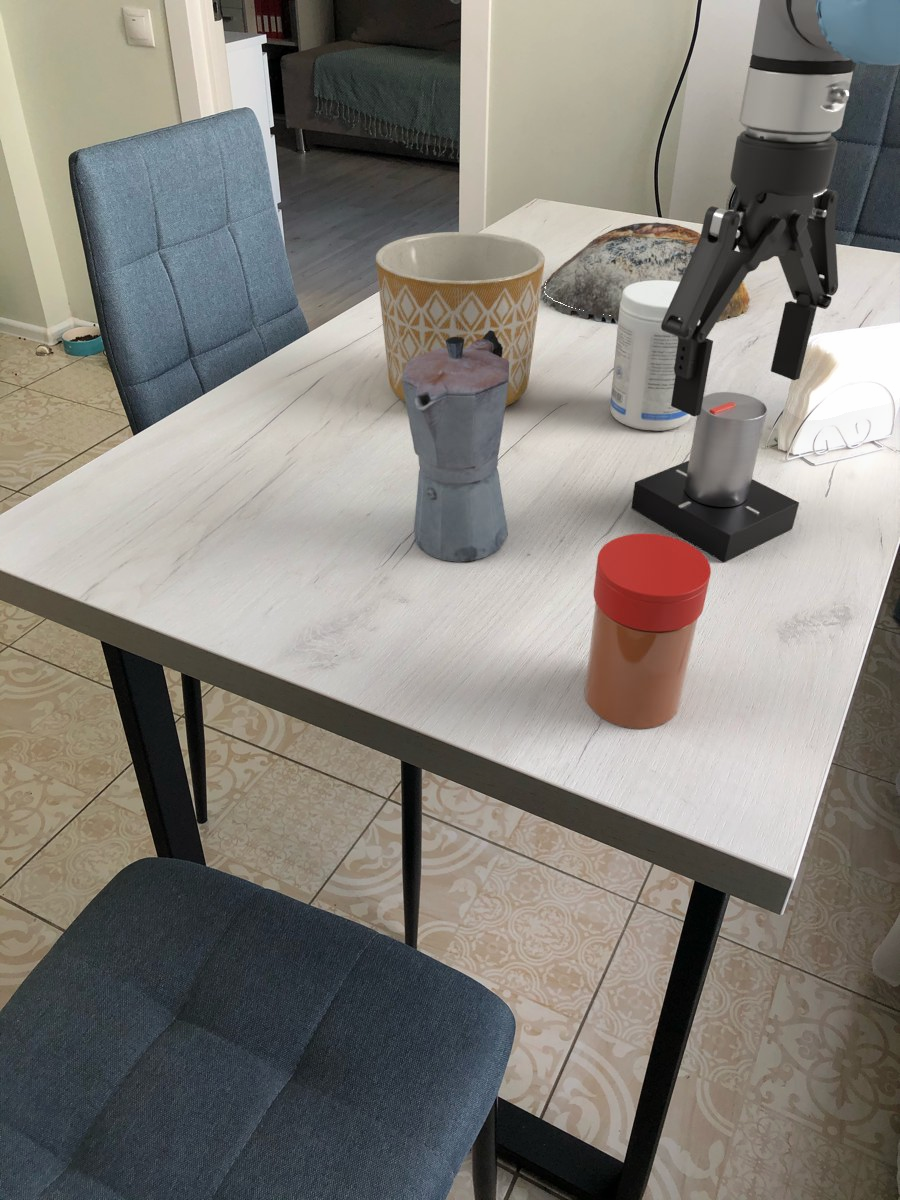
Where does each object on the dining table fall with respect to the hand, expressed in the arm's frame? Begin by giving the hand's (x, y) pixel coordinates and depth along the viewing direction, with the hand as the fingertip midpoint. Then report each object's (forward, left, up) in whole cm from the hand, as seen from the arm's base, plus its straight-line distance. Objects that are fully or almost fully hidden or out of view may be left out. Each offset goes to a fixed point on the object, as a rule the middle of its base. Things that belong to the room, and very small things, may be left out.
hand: (736, 392), depth 85 cm
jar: (-14, +25, -13) cm, 31 cm away
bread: (+51, -43, -14) cm, 68 cm away
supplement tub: (+20, -12, -14) cm, 27 cm away
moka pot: (+12, +22, -14) cm, 29 cm away
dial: (0, 0, -10) cm, 10 cm away
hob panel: (0, 0, -13) cm, 13 cm away
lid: (-14, +25, -2) cm, 28 cm away
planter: (+39, +2, -14) cm, 42 cm away
